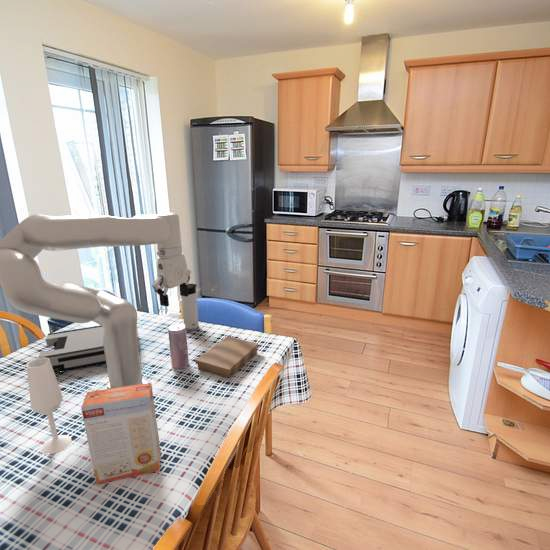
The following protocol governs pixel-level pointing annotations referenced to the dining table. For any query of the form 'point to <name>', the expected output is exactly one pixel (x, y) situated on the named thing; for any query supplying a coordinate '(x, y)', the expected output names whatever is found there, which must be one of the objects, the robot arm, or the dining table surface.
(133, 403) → the cracker box
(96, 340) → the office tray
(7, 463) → the dining table surface
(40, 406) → the champagne flute
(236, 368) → the brown flat block
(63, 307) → the robot arm
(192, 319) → the travel mug
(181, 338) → the beverage can
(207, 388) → the dining table surface
